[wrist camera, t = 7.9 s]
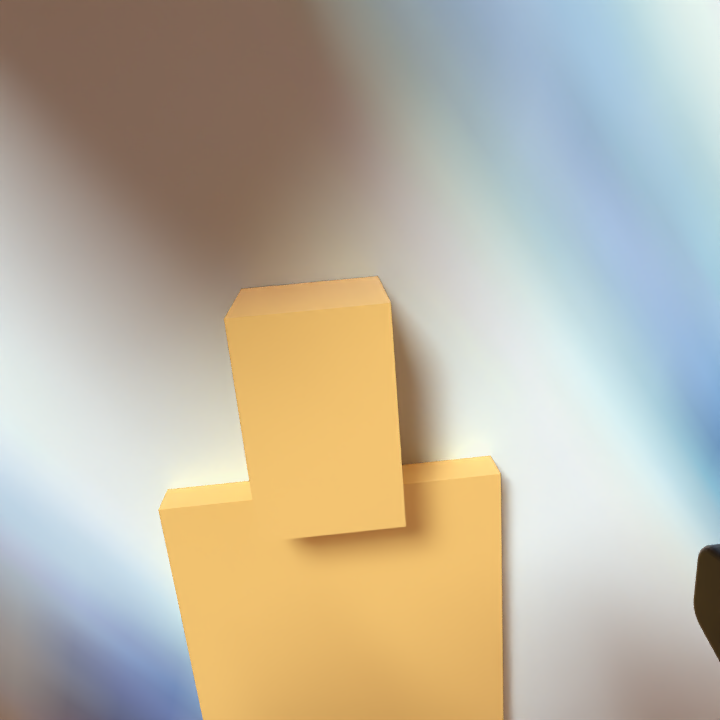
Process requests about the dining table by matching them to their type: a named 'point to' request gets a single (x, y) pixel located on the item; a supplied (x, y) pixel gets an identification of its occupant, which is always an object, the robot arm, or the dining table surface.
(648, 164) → the dining table surface
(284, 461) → the lid
